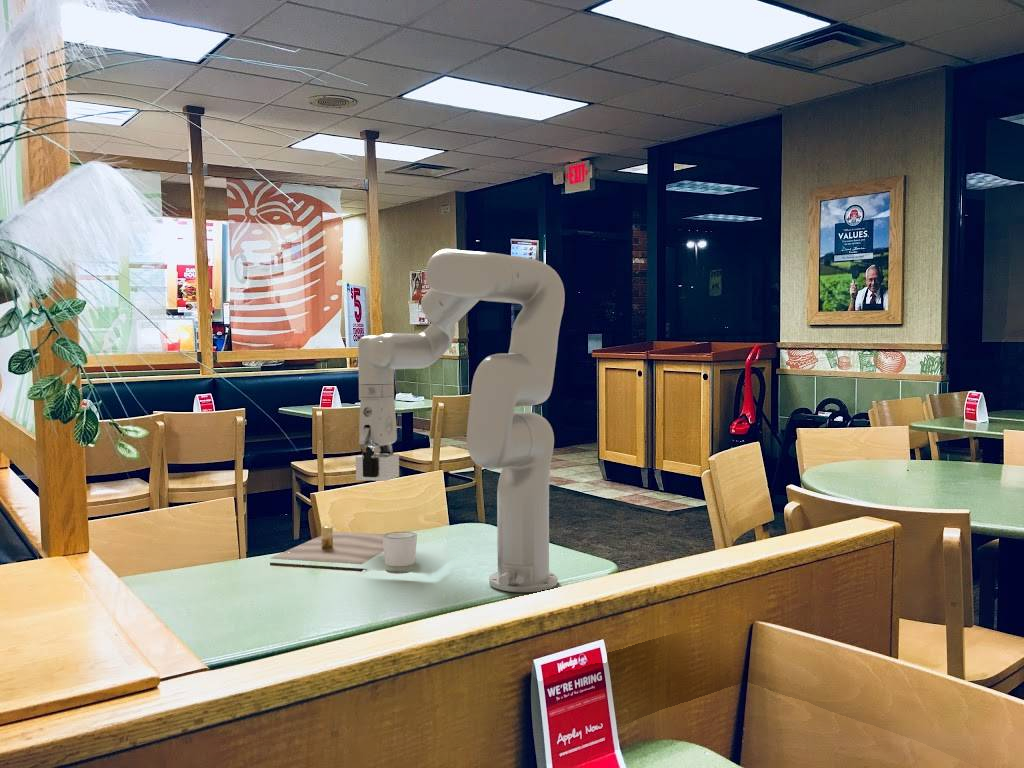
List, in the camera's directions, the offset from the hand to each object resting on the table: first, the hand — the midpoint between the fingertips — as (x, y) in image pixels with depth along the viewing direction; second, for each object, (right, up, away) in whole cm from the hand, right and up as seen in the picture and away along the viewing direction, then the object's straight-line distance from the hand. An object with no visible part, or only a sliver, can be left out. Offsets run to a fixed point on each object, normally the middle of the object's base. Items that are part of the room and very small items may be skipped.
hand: (377, 473), depth 172 cm
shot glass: (+7, -17, -16) cm, 24 cm away
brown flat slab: (-7, -17, -2) cm, 18 cm away
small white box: (0, -1, 0) cm, 1 cm away
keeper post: (-10, -15, -3) cm, 19 cm away
